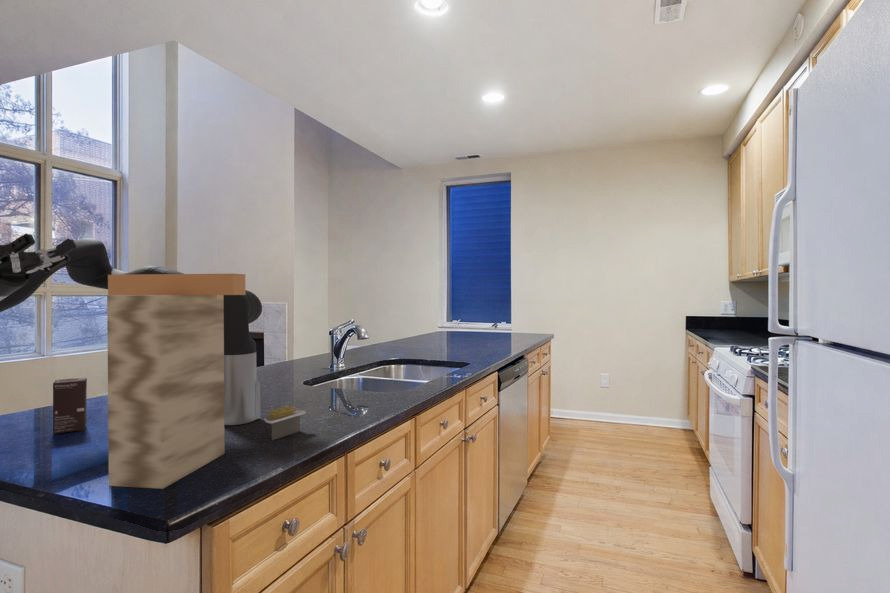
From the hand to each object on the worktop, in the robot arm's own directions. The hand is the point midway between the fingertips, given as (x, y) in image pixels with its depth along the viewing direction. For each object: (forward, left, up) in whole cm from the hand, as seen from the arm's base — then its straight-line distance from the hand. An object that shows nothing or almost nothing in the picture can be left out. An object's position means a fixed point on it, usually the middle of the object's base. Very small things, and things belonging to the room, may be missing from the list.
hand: (53, 240), depth 92 cm
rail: (-14, +21, -11) cm, 28 cm away
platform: (-35, +24, -44) cm, 61 cm away
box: (-7, -20, -43) cm, 48 cm away
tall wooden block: (-11, +25, -43) cm, 51 cm away
